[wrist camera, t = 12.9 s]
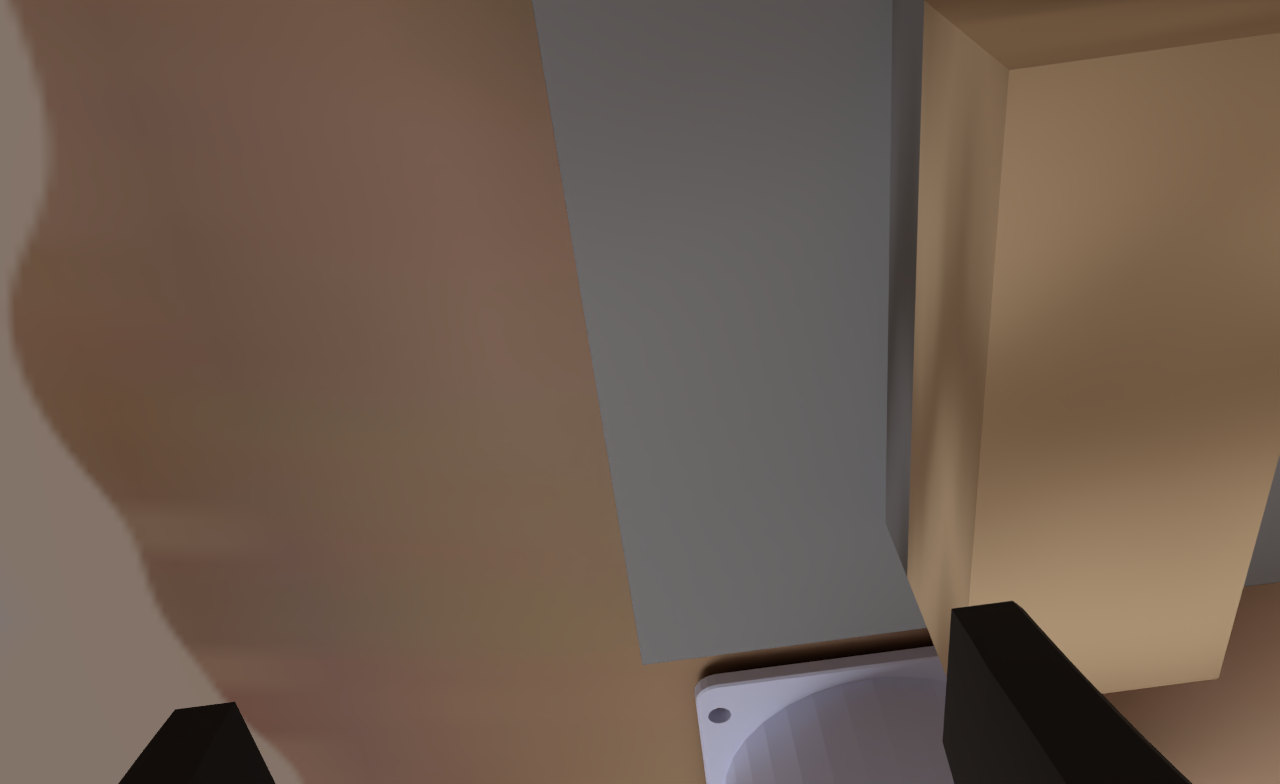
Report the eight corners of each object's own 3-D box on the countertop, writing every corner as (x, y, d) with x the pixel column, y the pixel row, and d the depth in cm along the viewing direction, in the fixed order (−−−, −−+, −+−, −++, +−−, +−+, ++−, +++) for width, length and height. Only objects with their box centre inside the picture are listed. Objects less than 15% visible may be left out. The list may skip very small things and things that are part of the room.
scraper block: (1094, 495, 20) (1217, 678, 16) (885, 523, 20) (961, 712, 16) (1181, -66, 14) (1399, 15, 11) (892, -26, 15) (1009, 70, 11)
